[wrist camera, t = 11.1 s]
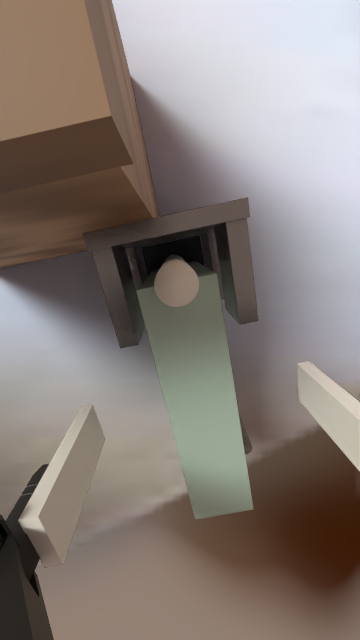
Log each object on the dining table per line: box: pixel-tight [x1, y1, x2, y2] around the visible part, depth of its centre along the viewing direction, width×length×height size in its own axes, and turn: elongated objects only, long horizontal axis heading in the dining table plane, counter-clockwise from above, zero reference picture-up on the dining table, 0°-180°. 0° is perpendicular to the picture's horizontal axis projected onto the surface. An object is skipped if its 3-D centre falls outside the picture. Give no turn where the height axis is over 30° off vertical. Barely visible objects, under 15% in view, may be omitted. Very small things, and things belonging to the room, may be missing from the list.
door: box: [136, 255, 253, 519], centre depth 19 cm, size 5×17×13 cm, turn 11°
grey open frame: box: [82, 198, 258, 348], centre depth 17 cm, size 8×6×12 cm
